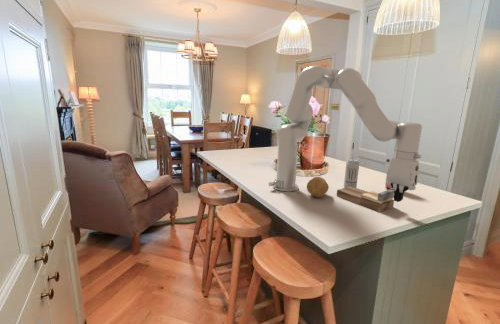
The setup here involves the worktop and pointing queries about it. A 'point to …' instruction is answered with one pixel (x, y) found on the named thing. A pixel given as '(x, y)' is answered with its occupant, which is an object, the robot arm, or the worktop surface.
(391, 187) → the soda can
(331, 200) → the worktop surface
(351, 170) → the energy drink can
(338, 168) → the worktop surface
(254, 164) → the worktop surface
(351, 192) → the wooden tray
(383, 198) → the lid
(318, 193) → the potato
